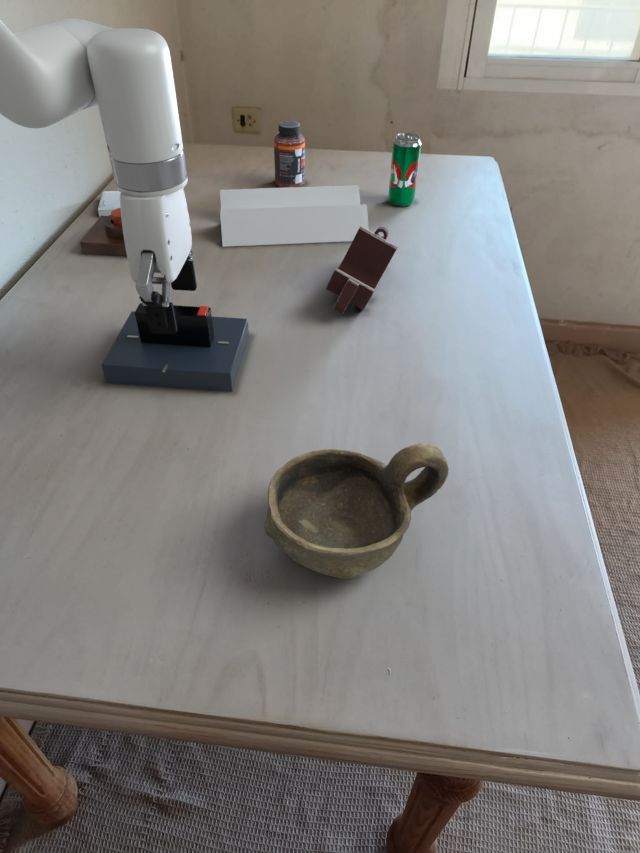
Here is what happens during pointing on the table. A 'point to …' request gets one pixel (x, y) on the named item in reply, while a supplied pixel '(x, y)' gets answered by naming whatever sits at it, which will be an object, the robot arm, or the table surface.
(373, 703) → the table surface
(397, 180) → the soda can
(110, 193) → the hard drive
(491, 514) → the table surface
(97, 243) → the button base
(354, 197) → the z bracket
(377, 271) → the bracket
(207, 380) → the lever switch
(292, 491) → the bowl
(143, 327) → the black rectangular block
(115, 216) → the button
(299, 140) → the supplement bottle
